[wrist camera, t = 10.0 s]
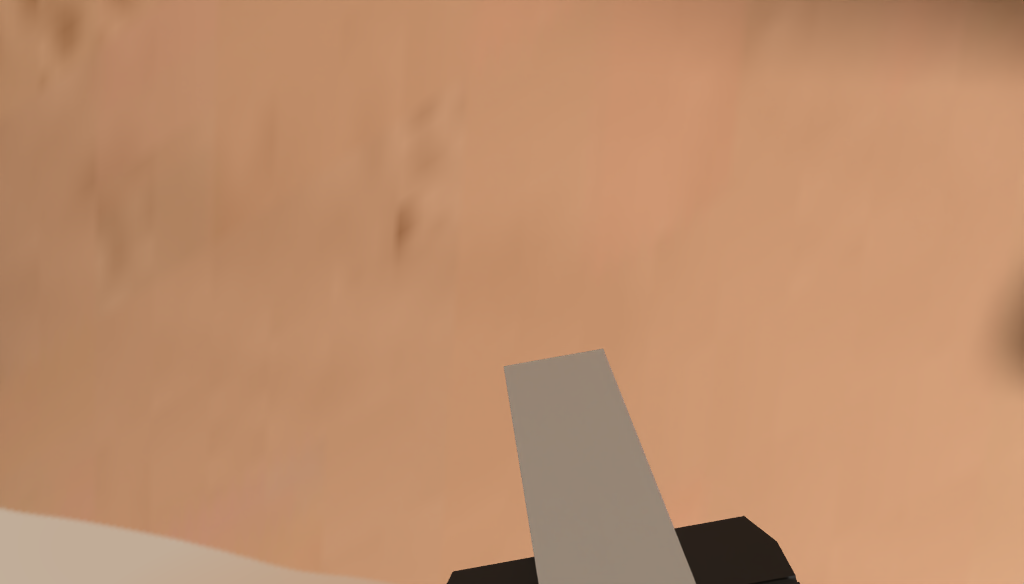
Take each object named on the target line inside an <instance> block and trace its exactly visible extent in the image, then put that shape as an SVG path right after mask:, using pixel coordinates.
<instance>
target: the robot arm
mask: <svg viewBox="0 0 1024 584" xmlns="http://www.w3.org/2000/svg"><path fill="white" fill-rule="evenodd" d="M504 371H505V377H506V384H507V390H508V396H509V402H510V408H511V415H512V421H513V427H514V433H515V440H516V446H517V452H518V458H519V464H520V471H521V477H522V483H523V489H524V496H525V502H526V508H527V514H528V520H529V527H530V533H531V539H532V545H533V552H534V557H531V558H525V559H520V560H514V561H509V562H503V563H498V564H492V565H487V566H481V567H476V568H470V569H465V570H459V571H454V572H452V575H451V577H450V579H449V581H448V583H447V584H800V583H799V582H797V580H796V576H795V574H794V572H793V570H792V568H791V566H790V565H789V563H788V561H787V559H786V557H785V556H784V554H783V552H782V550H781V548H780V546H779V545H778V543H777V541H775V540H774V539H773V538H772V537H770V536H769V535H768V534H766V533H765V532H764V531H763V530H761V529H760V528H759V527H757V526H756V525H755V524H754V523H752V522H751V521H750V520H748V519H747V518H746V517H745V516H742V517H736V518H731V519H725V520H719V521H714V522H708V523H703V524H697V525H692V526H686V527H681V528H675V529H674V527H673V524H672V522H671V519H670V517H669V514H668V512H667V509H666V507H665V504H664V502H663V499H662V496H661V494H660V491H659V489H658V486H657V484H656V481H655V479H654V476H653V474H652V471H651V469H650V466H649V464H648V461H647V459H646V456H645V454H644V451H643V448H642V446H641V443H640V441H639V438H638V436H637V433H636V431H635V428H634V426H633V423H632V421H631V418H630V416H629V413H628V411H627V408H626V405H625V403H624V400H623V398H622V395H621V393H620V390H619V388H618V385H617V383H616V380H615V378H614V375H613V373H612V370H611V368H610V365H609V362H608V360H607V357H606V355H605V352H604V350H603V349H599V350H593V351H587V352H582V353H576V354H570V355H565V356H559V357H554V358H548V359H542V360H537V361H531V362H525V363H520V364H514V365H508V366H504Z"/></svg>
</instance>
